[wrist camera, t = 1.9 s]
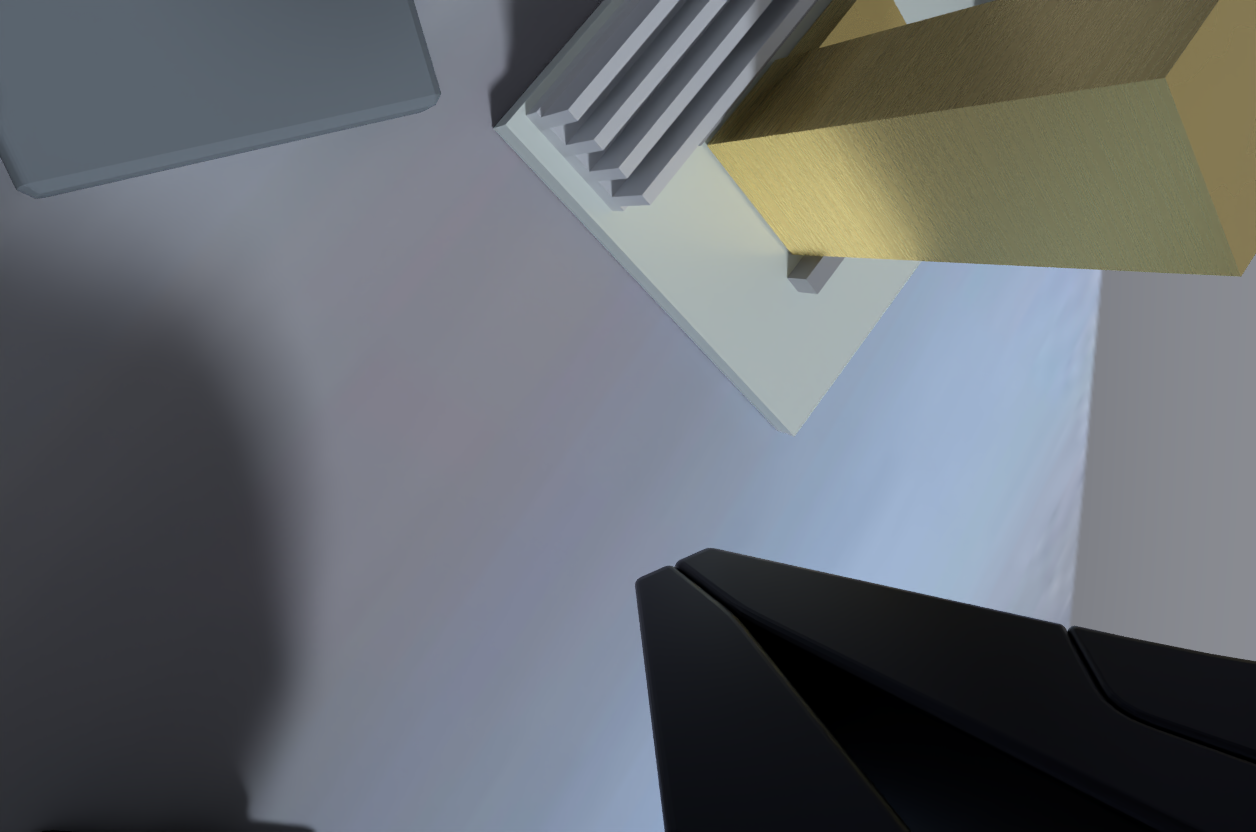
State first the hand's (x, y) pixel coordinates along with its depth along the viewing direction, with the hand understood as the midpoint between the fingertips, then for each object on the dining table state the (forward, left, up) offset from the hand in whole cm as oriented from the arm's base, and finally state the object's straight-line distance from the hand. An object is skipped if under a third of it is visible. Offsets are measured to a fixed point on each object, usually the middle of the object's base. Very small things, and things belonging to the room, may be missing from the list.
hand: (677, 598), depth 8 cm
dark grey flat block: (+4, +7, -13) cm, 15 cm away
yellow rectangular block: (+11, -7, -12) cm, 18 cm away
